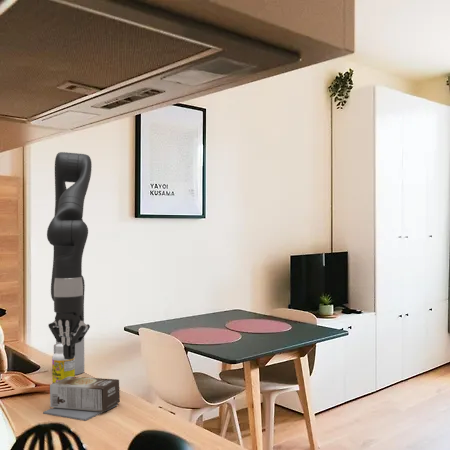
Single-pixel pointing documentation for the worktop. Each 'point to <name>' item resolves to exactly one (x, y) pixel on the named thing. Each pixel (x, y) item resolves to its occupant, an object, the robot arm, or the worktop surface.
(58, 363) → the supplement bottle
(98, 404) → the coffee box
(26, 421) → the worktop surface
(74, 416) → the mat
